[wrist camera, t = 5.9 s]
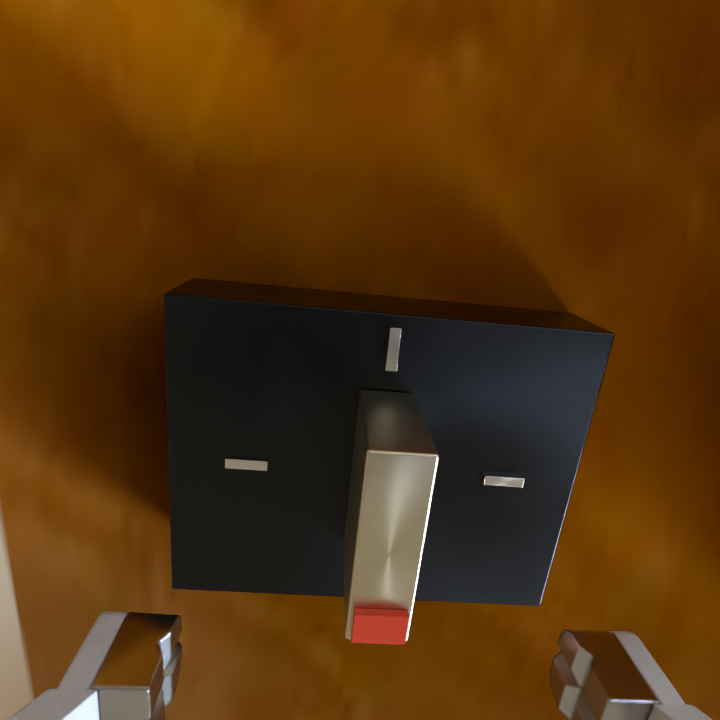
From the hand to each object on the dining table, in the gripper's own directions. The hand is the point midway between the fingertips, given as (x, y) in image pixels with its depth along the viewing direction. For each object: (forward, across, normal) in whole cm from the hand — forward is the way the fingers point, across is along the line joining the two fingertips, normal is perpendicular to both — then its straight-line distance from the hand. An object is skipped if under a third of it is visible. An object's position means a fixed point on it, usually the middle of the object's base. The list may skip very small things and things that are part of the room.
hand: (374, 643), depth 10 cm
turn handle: (+6, -1, 0) cm, 6 cm away
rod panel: (+10, -1, 0) cm, 10 cm away
